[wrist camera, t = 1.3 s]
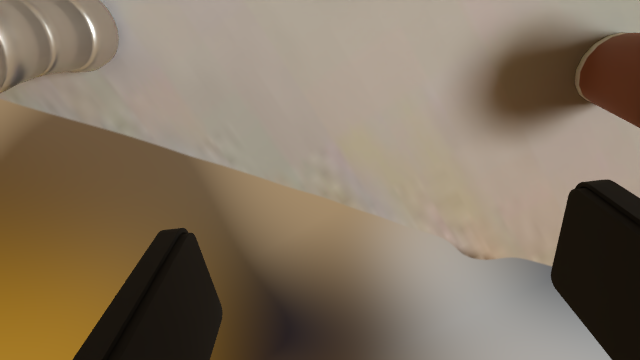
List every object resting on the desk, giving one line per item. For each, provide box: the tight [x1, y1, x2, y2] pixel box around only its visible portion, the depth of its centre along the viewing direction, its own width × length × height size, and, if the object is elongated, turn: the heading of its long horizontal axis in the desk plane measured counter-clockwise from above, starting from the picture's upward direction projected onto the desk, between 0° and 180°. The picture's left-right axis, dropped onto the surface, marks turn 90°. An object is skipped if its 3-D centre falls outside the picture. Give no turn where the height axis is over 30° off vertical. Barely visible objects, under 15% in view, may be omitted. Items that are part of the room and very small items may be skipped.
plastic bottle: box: [0, 0, 119, 93], centre depth 22 cm, size 6×7×20 cm
